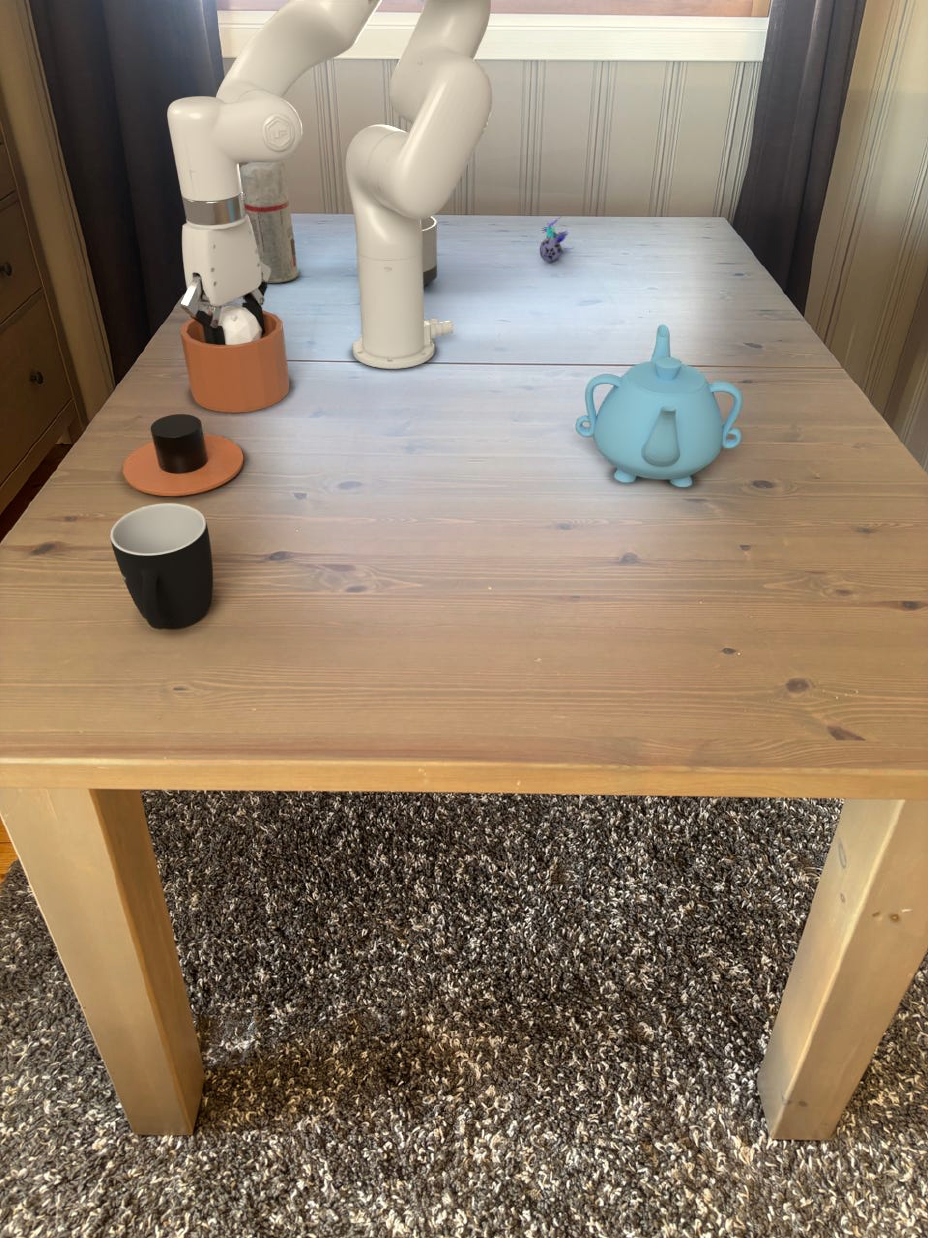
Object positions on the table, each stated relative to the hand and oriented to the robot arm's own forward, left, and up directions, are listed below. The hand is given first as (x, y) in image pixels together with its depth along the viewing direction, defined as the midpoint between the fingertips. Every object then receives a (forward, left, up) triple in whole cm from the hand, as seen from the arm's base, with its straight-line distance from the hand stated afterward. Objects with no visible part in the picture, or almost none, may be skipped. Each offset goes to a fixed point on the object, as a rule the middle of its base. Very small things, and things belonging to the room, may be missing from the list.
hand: (236, 341), depth 130 cm
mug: (+22, +47, -7) cm, 53 cm away
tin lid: (+14, +18, -7) cm, 24 cm away
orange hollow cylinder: (0, 0, -7) cm, 7 cm away
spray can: (-20, -42, -7) cm, 47 cm away
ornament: (0, 0, -2) cm, 2 cm away
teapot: (-40, +44, -7) cm, 60 cm away
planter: (-39, -29, -7) cm, 49 cm away
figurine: (-72, -29, -7) cm, 78 cm away
